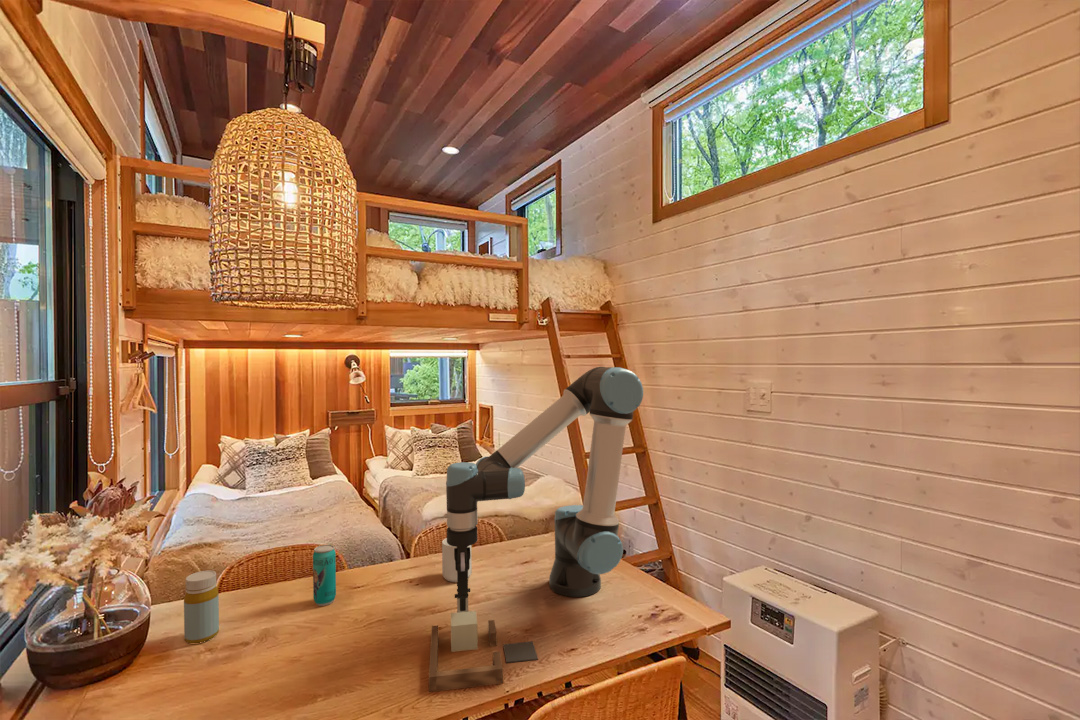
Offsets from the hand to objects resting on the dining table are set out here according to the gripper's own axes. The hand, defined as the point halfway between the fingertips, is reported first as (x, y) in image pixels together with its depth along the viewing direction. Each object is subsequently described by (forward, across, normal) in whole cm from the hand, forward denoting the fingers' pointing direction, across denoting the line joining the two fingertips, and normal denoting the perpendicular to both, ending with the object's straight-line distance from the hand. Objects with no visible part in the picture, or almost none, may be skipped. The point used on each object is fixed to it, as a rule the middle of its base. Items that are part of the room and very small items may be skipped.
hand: (462, 620), depth 128 cm
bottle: (+2, -8, -62) cm, 63 cm away
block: (+2, +6, 0) cm, 7 cm away
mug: (+2, -32, -1) cm, 32 cm away
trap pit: (+2, +13, +13) cm, 18 cm away
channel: (+2, +13, 0) cm, 13 cm away
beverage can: (+2, -21, -37) cm, 43 cm away
